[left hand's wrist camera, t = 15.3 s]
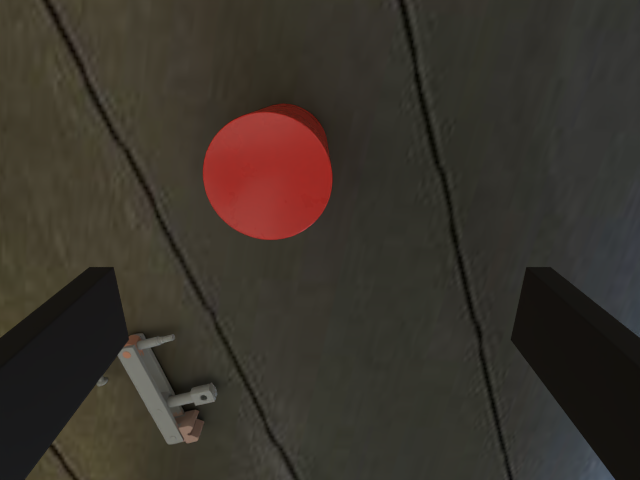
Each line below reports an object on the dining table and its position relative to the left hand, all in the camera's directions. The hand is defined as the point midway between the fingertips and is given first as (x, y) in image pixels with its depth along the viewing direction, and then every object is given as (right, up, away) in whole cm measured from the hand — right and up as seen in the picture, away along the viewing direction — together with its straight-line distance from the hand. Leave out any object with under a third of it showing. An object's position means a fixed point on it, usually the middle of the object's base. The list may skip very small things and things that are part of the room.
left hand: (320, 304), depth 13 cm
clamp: (-15, -10, +23) cm, 30 cm away
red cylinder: (-3, +9, +16) cm, 19 cm away
